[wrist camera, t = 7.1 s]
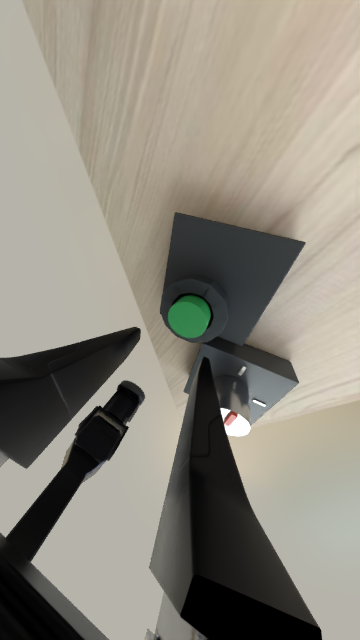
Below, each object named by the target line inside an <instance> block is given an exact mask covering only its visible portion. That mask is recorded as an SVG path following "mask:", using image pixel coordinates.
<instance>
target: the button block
mask: <svg viewBox="0 0 360 640" xmlns="http://www.w3.org/2000/svg"><path fill="white" fill-rule="evenodd" d="M304 245H305V242H302V241H298V240H294V239H289V238H285V237H281V236H276V235H272V234H268V233H263V232H259V231H255V230H250V229H246V228H242V227H237V226H233V225H229V224H224V223H220V222H216V221H211V220H207V219H203V218H198V217H194V216H190V215H185V214H181V213H177V212H176V213H175V216H174V222H173V229H172V236H171V243H170V249H169V256H168V263H167V269H166V276H165V283H164V289H163V295H162V300H161V307H160V314H161V315H162V317H163V320H164V323H165V325H166V326H167V327H168V328H169V329H170V330H171V331H172V332H173V333H174V334H175V335H176V336H177V337H179V338H181V339H184V340H186V341H189V342H192V343H193V342H208V341H210V340H212V339H213V338H215V337H217V336H218V337H221V338H223V339H226V340H228V341H231V342H233V343H236V344H238V345H241V346H243V344H244V343H245V341H246V340H247V338H248V336H249V335H250V333H251V331H252V330H253V328H254V327H255V325H256V323H257V322H258V320H259V318H260V317H261V315H262V314H263V312H264V310H265V309H266V307H267V305H268V304H269V302H270V301H271V299H272V297H273V296H274V294H275V292H276V291H277V289H278V288H279V286H280V284H281V283H282V281H283V279H284V278H285V276H286V275H287V273H288V271H289V270H290V268H291V266H292V265H293V263H294V261H295V260H296V258H297V257H298V255H299V253H300V252H301V250H302V248H303V247H304ZM187 295H195V296H198V297H200V298H202V299H203V300H204V301H205V302H206V303H207V304H208V306H209V308H210V311H211V317H210V320H209V323H208V325H207V328H206V330H205V332H204V333H203V334H202V335H200V336H198V337H196V338H186V337H183V336H180V335H179V334H177V333H176V332H175V331H174V330H173V329H172V328H171V326H170V324H169V321H168V313H169V310H170V308H171V307H172V306H173V305H174V304H175V303H176V302H177V301H178V300H179V299H180V298H182V297H184V296H187Z"/></svg>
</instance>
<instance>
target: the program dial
mask: <svg viewBox="0 0 360 640" xmlns="http://www.w3.org/2000/svg"><path fill="white" fill-rule="evenodd" d="M214 381H215V386H216V390H217V395H218V399H219V404H220V408H221V414H222V417H223V421H224V425H225V429H226V433H227V434H228V435H232V436H244V435H247V434H248V433H249V432H250V430H251V424H250V402H249V389H248V387H247V386H246V385H245V383H243V382H242V381H241V380H239V379H237V378H235V377H231V376H218V377H216V378H214Z"/></svg>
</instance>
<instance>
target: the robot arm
mask: <svg viewBox="0 0 360 640" xmlns="http://www.w3.org/2000/svg"><path fill="white" fill-rule="evenodd" d="M140 333H141V330H140V328H137V327H132V328H129V329H125V330H121V331H118V332H114V333H111V334H107V335H103V336H100V337H96V338H93V339H89V340H86V341H82V342H80V343H79V342H78V343H75V344H71V345H67V346H63V347H59V348H55V349H51V350H46V351H42V352H37V353H33V354H28V355H23V356H18V357H11V358H0V467H1V466H2V465H3V464H4V463H5V462H6V461H7V460H8V459H9V458H10V459H12V460H13V461H15V462H16V463H18V464H19V465H21V466H23V467H24V468H28V467H29V466H30V465H31V464H32V463H33V462H34V461H35V459H36V458H37V457H38V456H39V455H40V454H41V453H42V452H43V450H44V449H45V448H46V447H47V446H48V445H49V444H50V443H51V441H53V439H54V438H55V437H56V436H57V435H58V434H59V433H60V432H61V431H62V429H63V428H64V427H65V426H66V425H67V424H68V423H69V422H70V421H71V419H72V418H73V417H74V416H75V415H76V414H77V413H78V411H79V410H80V409H81V408H82V407H83V406H84V405H85V404H86V402H87V401H88V400H89V399H90V398H91V397H92V396H93V395H94V394H95V393H96V392H97V390H98V389H99V388H100V387H101V386H102V385H103V384H104V383H105V382H106V380H107V379H108V378H109V377H110V376H111V375H112V374H113V373H114V371H115V370H116V369H117V368H118V367H119V366H120V365H121V364H122V363H123V362H124V360H125V359H126V358H127V357H128V355H129V354H130V353H131V351H132V350H133V348H134V347H135V346H136V344H137V343H138V342H139V340H140ZM139 399H140V396H139V395H138V394H136V393H134V392H133V391H131V390H129V389H127V388H125V387H123V386H121V385H118V390H117V391H116V393H115V394H114V395H113V396H112V397H111V399H110V400H109V401H108V402H107V403H106V405H105V406H104V407H103V408H102V407H101V406H99V407H98V406H96V407H95V408H94V410H93V411H92V412H91V413H90V414H89V415H88V416H87V417H86V418H85V419H84V420H83V421H82V422H81V423H80V424H79V428H78V430H77V432H76V434H75V436H76V438H75V439H74V441H73V442H72V444H71V445H70V447H69V448H68V450H67V452H66V455H65V458H64V461H63V464H62V467H61V470H60V471H59V472H58V474H57V475H56V476H55V477H54V478H53V480H52V481H51V483H49V485H48V486H47V487H46V488H45V490H44V491H43V492H42V493H41V495H40V496H39V497H38V498H37V500H36V501H35V502H34V503H33V505H32V506H31V507H30V508H29V510H28V511H27V512H26V513H25V515H24V516H23V517H22V518H21V520H20V521H19V522H18V523H17V524H16V526H15V527H14V528H13V530H12V531H11V532H10V533H9V534H8V536H7V537H6V538H5V537H4V536H3V535H2V534H1V533H0V640H109V639H108V638H107V637H106V636H105V635H104V634H103V633H102V632H101V631H100V630H98V628H97V627H95V625H93V624H92V623H91V622H90V621H89V620H88V619H87V618H86V617H85V616H84V615H83V614H82V613H81V612H80V611H79V610H78V609H77V608H76V607H75V606H74V605H73V604H72V603H71V602H70V601H69V600H68V599H67V598H66V597H65V596H64V595H63V594H62V593H61V592H60V591H59V590H58V589H57V588H56V587H55V586H54V585H53V584H52V583H51V582H50V581H49V580H48V579H47V578H46V577H45V576H44V575H43V574H41V572H40V571H39V570H38V569H36V567H35V566H34V565H33V564H32V563H31V561H32V559H33V557H34V556H35V555H36V553H37V551H38V550H39V548H40V546H41V545H42V544H43V542H44V541H45V539H46V537H47V536H48V534H49V533H50V531H51V530H52V528H53V527H54V525H55V523H56V522H57V520H58V519H59V517H60V516H61V514H62V513H63V511H64V509H65V508H66V506H67V505H68V503H69V502H70V500H71V498H72V497H73V496H74V494H75V492H76V491H77V489H78V488H79V486H80V484H81V483H83V482H84V481H85V480H87V479H88V478H90V477H91V476H93V475H94V474H95V473H96V472H97V471H98V470H99V469H100V467H101V466H102V465H103V464H104V463H105V461H106V460H108V461H109V460H110V459H111V457H112V456H113V454H114V453H115V451H116V449H117V448H118V446H119V444H120V442H121V441H122V439H123V437H124V435H125V433H126V432H127V430H128V428H129V427H128V426H126V423H127V422H130V421H131V419H132V417H133V416H134V415H135V413H136V411H137V410H138V408H139V404H140V402H139ZM169 481H170V482H169V484H168V488H167V493H166V497H165V501H164V505H163V510H162V515H161V518H160V523H159V527H158V531H157V536H156V541H155V545H154V549H153V553H152V557H151V562H150V566H149V568H150V570H151V572H152V573H153V574H154V576H155V578H156V579H157V581H158V583H159V584H160V586H161V587H162V589H163V590H164V594H163V599H162V603H161V607H160V612H159V616H158V621H157V625H156V630H155V634H153V633H152V632H151V631H150V630H149V629H147V632H146V636H145V640H322V635H321V629H320V627H319V626H318V624H317V623H316V621H315V619H314V618H313V616H312V614H311V613H310V611H309V609H308V607H307V606H306V604H305V602H304V601H303V599H302V597H301V595H300V593H299V592H298V590H297V588H296V586H295V585H294V583H293V581H292V579H291V578H290V576H289V574H288V572H287V570H286V569H285V567H284V565H283V563H282V562H281V560H280V558H279V556H278V555H277V553H276V551H275V549H274V548H273V546H272V544H271V542H270V541H269V539H268V537H267V535H266V534H265V532H264V530H263V528H262V527H261V525H260V523H259V521H258V519H257V518H256V516H255V514H254V512H253V510H252V507H251V505H250V503H249V500H248V498H247V495H246V493H245V490H244V487H243V483H242V480H241V477H240V474H239V471H238V468H237V465H236V462H235V459H234V456H233V453H232V450H231V447H230V443H229V440H228V437H227V433H226V429H225V425H224V421H223V417H222V414H221V408H220V404H219V399H218V395H217V390H216V386H215V381H214V377H213V373H212V368H211V364H210V359H209V358H207V357H204V356H203V357H202V360H201V362H200V364H199V367H198V370H197V372H196V375H195V378H194V380H193V383H192V386H191V389H190V393H189V397H188V402H187V406H186V410H185V415H184V419H183V423H182V428H181V432H180V436H179V441H178V445H177V449H176V454H175V458H174V463H173V467H172V471H171V475H170V480H169Z"/></svg>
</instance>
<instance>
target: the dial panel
mask: <svg viewBox="0 0 360 640" xmlns="http://www.w3.org/2000/svg"><path fill="white" fill-rule="evenodd" d="M203 356H204V357H207V358H209V359H210V364H211V368H212V373H213V377H214V378H216V377H218V376H231V377H235V378H237V379H239V380H241V381H242V382H243V383H245V385H246V386H247V387H248V389H249V402H250V424H251V425H252V424H253V423H254V422H255V421H256V420H258V419H259V418H260V417H261V416H262V415H263V414H264V413H265V412H267V411H268V410H269V409H270V408H271V407H272V406H273V405H275V404H276V403H277V402H278V401H279V400H280V399H281V398H283V397H284V396H285V395H286V394H287V393H288V392H289V391H291V390H292V389H293V388H294V387H295V386H296V385H297V384H299V381H298V379H297V376H296V374H295V371H294V369H293V366H292V364H291V362H290V361H287V360H285V359H282V358H280V357H277V356H274V355H272V354H269V353H267V352H264V351H262V350H259V349H257V348H254V347H251V346H249V345H246V344H243V346H241V345H238V344H236V343H233V342H231V341H228V340H226V339H223V338H221V337H218V336H217V337H215V338H213V339H212V340H210V341H208V342H203V343H202V346H201V348H200V351H199V353H198V356H197V358H196V361H195V363H194V366H193V369H192V371H191V374H190V376H189V379H188V381H187V384H186V386H185V389H184V392H185V393H187V394H189V393H190V389H191V386H192V383H193V380H194V378H195V375H196V372H197V370H198V367H199V364H200V362H201V360H202V357H203Z"/></svg>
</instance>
